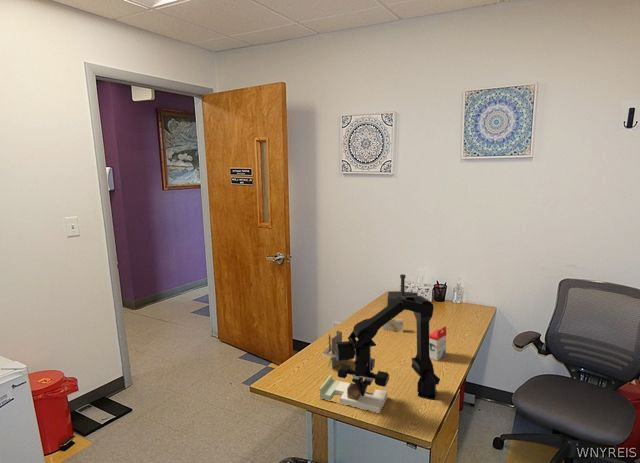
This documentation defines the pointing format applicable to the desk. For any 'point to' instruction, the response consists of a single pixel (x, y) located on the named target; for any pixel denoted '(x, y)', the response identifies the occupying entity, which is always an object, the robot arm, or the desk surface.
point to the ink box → (437, 344)
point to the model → (394, 325)
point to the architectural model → (333, 349)
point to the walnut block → (353, 392)
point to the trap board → (365, 402)
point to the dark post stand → (395, 294)
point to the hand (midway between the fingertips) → (363, 395)
